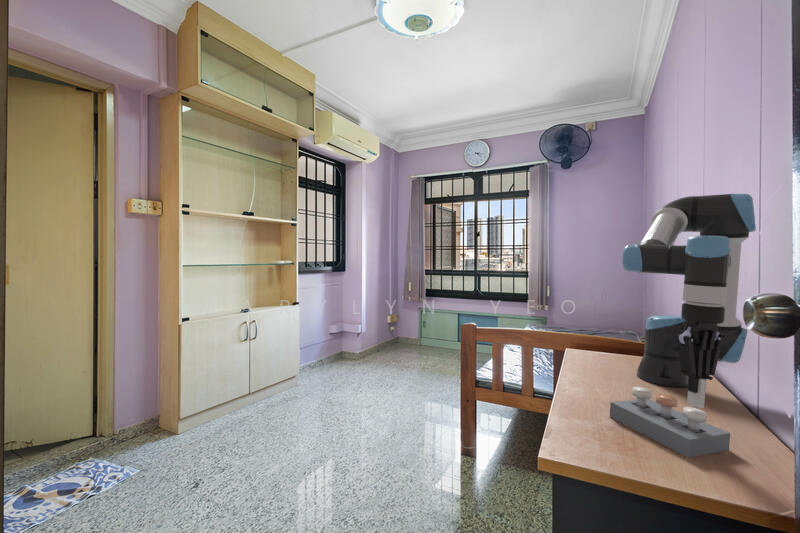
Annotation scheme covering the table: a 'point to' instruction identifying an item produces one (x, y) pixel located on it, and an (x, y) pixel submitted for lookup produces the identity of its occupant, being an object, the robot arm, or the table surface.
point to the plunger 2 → (694, 418)
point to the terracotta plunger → (666, 405)
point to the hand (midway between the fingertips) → (695, 405)
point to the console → (670, 428)
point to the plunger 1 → (641, 396)
